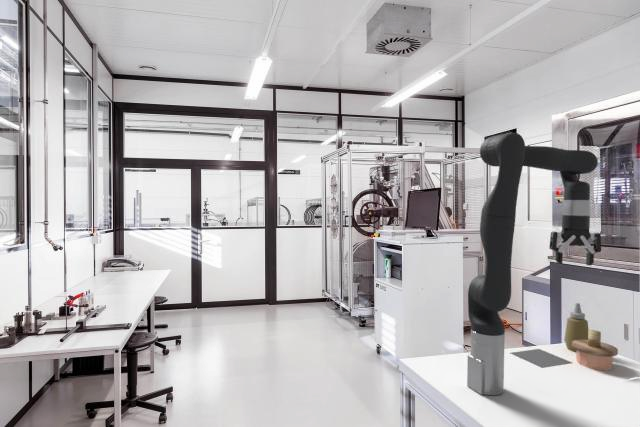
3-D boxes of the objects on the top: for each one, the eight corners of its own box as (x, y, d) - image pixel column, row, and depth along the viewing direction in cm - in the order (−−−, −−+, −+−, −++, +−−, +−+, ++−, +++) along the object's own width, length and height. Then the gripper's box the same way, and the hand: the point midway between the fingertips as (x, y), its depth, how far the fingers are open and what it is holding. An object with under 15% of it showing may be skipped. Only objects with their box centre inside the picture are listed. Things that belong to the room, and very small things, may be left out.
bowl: (597, 373, 131) (598, 356, 131) (569, 361, 141) (570, 346, 141) (619, 369, 134) (619, 353, 134) (590, 358, 144) (591, 343, 144)
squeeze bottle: (564, 352, 150) (566, 304, 149) (563, 345, 157) (564, 300, 156) (590, 356, 146) (592, 307, 145) (588, 349, 153) (589, 302, 152)
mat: (541, 369, 134) (541, 367, 134) (509, 354, 147) (509, 352, 147) (572, 364, 138) (573, 362, 138) (538, 350, 152) (538, 348, 152)
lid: (599, 358, 129) (599, 339, 129) (562, 345, 142) (563, 327, 141) (627, 354, 133) (627, 335, 133) (589, 341, 146) (590, 324, 146)
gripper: (556, 214, 127) (554, 265, 127) (606, 215, 124) (604, 267, 125) (547, 213, 134) (546, 261, 135) (594, 214, 132) (593, 264, 132)
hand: (574, 264), depth 130 cm, fingers open, 8 cm apart
